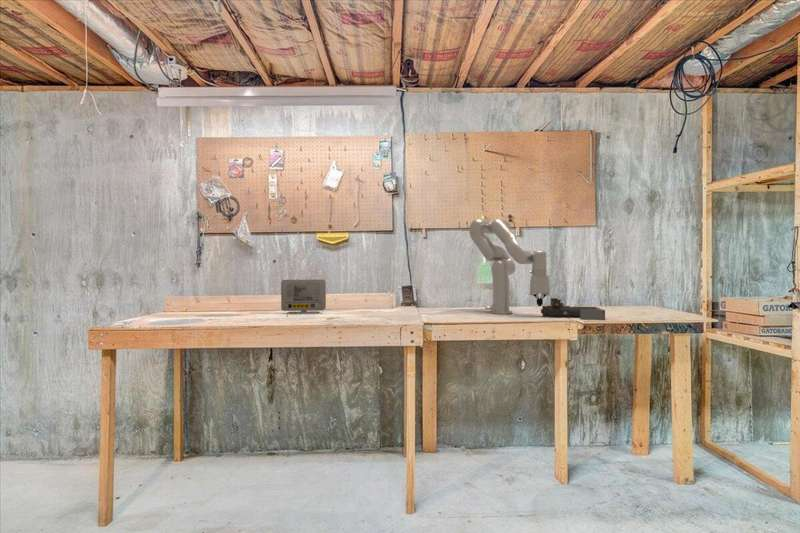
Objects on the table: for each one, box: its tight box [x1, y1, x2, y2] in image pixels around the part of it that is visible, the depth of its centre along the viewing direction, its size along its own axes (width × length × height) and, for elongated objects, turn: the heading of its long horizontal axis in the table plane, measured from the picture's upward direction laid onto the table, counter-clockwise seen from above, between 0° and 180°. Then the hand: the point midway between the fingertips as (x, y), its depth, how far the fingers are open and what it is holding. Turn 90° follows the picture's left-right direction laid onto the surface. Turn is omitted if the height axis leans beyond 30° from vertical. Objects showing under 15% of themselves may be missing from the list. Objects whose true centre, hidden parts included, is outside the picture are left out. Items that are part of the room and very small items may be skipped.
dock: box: [573, 305, 606, 321], centre depth 226 cm, size 12×17×5 cm
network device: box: [280, 279, 327, 315], centre depth 246 cm, size 26×9×20 cm, turn 94°
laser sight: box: [540, 297, 586, 318], centre depth 228 cm, size 10×22×10 cm, turn 79°
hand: (539, 305), depth 231 cm, fingers closed
